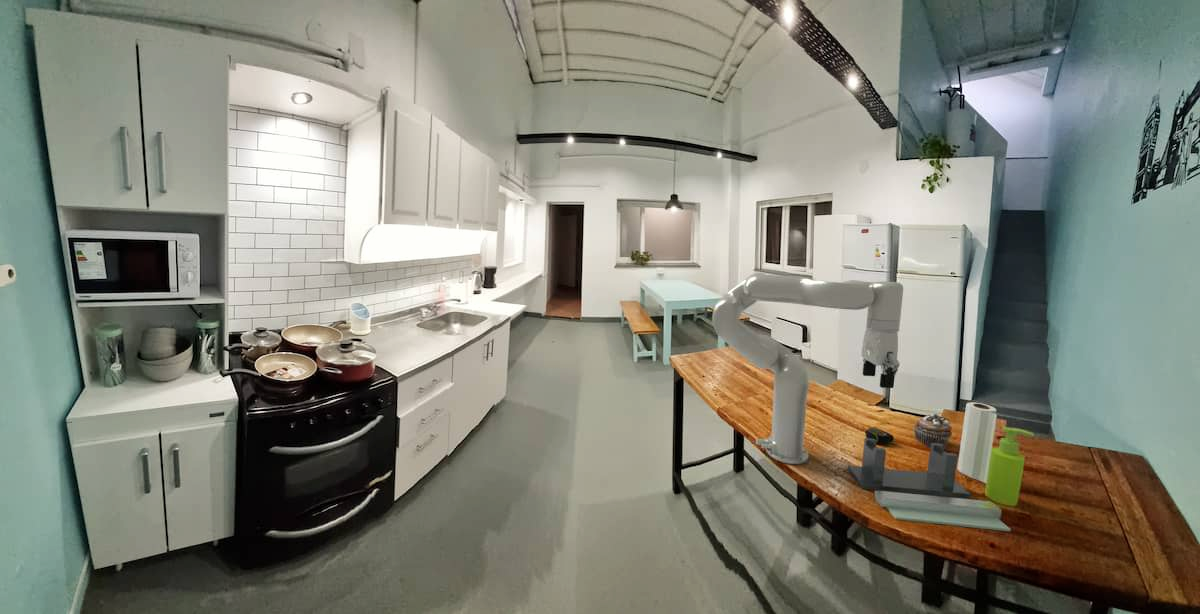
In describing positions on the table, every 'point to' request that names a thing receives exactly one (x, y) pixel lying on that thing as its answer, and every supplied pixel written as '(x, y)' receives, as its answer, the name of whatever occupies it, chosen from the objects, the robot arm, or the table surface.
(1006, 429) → the soap dispenser
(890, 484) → the rack
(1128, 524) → the table surface
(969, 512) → the rail
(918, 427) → the cupcake
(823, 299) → the robot arm
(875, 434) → the tape measure
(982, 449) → the paper towel roll
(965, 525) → the mat
